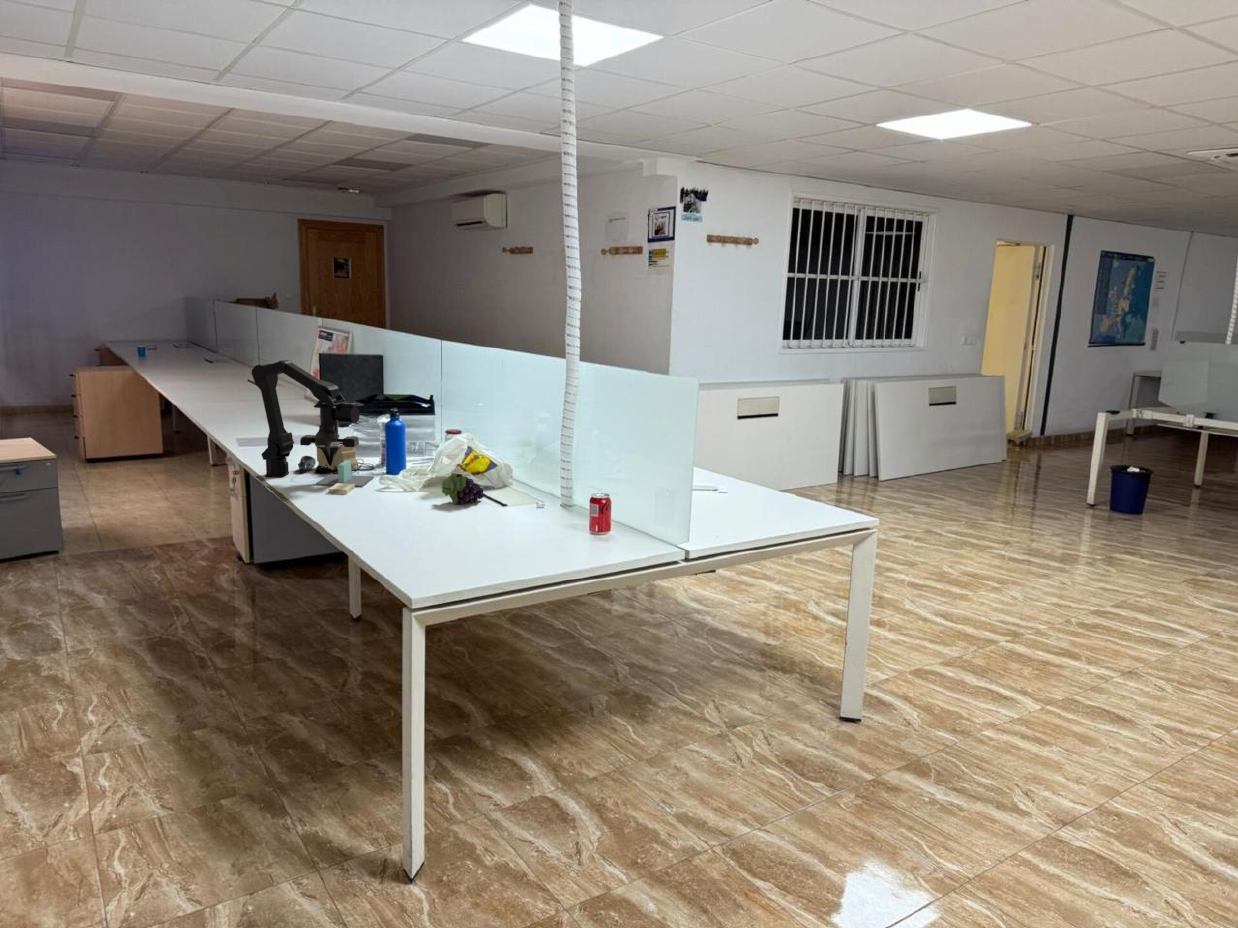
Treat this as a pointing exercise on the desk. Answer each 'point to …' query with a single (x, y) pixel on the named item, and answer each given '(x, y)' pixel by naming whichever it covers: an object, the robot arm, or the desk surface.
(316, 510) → the desk surface
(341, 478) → the teal slab
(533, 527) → the desk surface
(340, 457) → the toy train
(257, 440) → the desk surface
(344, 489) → the birch slab
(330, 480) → the mat
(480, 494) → the fruit
